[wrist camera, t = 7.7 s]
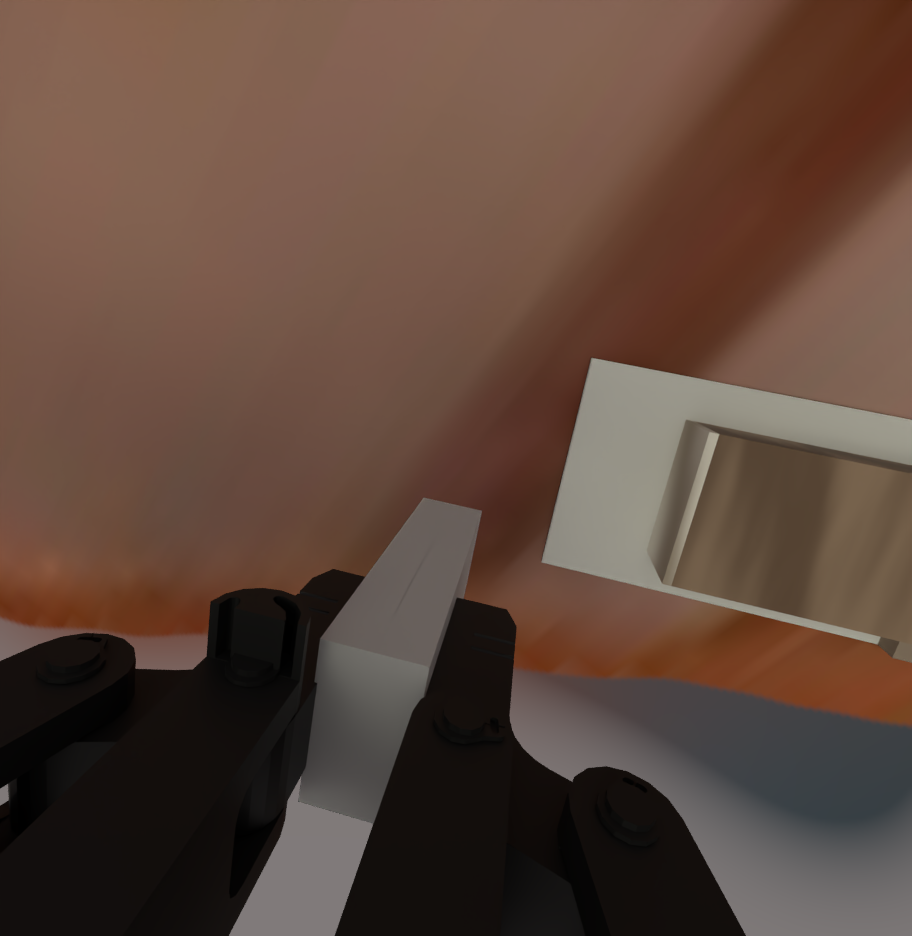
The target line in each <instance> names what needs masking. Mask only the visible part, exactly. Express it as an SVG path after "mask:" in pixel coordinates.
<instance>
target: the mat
mask: <svg viewBox="0 0 912 936" xmlns="http://www.w3.org/2000/svg"><path fill="white" fill-rule="evenodd" d="M686 420H691V421H696V422H701V423H706V424H711V425H716V426H721V427H726V428H731V429H735V430H740V431H745V432H750V433H755V434H760V435H765V436H770V437H775V438H780V439H785V440H789V441H794V442H799V443H804V444H809V445H814V446H819V447H824V448H829V449H834V450H839V451H844V452H848V453H853V454H858V455H863V456H868V457H873V458H878V459H883V460H888V461H893V462H898V463H903V464H907V465H912V420H910V419H905V418H900V417H895V416H889V415H884V414H879V413H874V412H869V411H864V410H858V409H853V408H848V407H843V406H838V405H833V404H827V403H822V402H817V401H812V400H807V399H802V398H796V397H791V396H786V395H781V394H776V393H771V392H765V391H760V390H755V389H750V388H745V387H740V386H734V385H729V384H724V383H719V382H714V381H709V380H703V379H698V378H693V377H688V376H683V375H678V374H673V373H667V372H662V371H657V370H652V369H647V368H642V367H636V366H631V365H626V364H621V363H616V362H611V361H605V360H600V359H595V358H591V361H590V365H589V369H588V373H587V377H586V381H585V385H584V389H583V393H582V398H581V402H580V406H579V410H578V414H577V418H576V422H575V426H574V430H573V434H572V438H571V442H570V446H569V450H568V454H567V458H566V463H565V467H564V471H563V475H562V479H561V483H560V487H559V491H558V495H557V499H556V503H555V507H554V511H553V515H552V519H551V523H550V528H549V532H548V536H547V540H546V544H545V548H544V552H543V556H542V563H546V564H550V565H555V566H559V567H563V568H567V569H571V570H575V571H579V572H583V573H587V574H591V575H596V576H600V577H604V578H608V579H612V580H616V581H620V582H624V583H628V584H632V585H637V586H641V587H645V588H649V589H653V590H657V591H661V592H665V593H669V594H673V595H677V596H682V597H686V598H690V599H694V600H698V601H702V602H706V603H710V604H714V605H718V606H723V607H727V608H731V609H735V610H739V611H743V612H747V613H751V614H755V615H759V616H764V617H768V618H772V619H776V620H780V621H784V622H788V623H792V624H796V625H800V626H805V627H809V628H813V629H817V630H821V631H825V632H829V633H833V634H837V635H841V636H846V637H850V638H854V639H858V640H862V641H866V642H870V643H874V644H878V645H879V646H880V647H881V648H882V649H883V650H884V651H885V652H887V653H888V654H889V655H890V656H891V657H892V658H895V659H899V660H903V661H907V662H911V663H912V644H908V643H904V642H900V641H896V640H892V639H887V638H883V637H879V636H875V635H871V634H867V633H863V632H859V631H854V630H850V629H846V628H842V627H838V626H834V625H830V624H825V623H821V622H817V621H813V620H809V619H805V618H801V617H797V616H792V615H788V614H784V613H780V612H776V611H772V610H768V609H764V608H759V607H755V606H751V605H747V604H743V603H739V602H735V601H731V600H726V599H722V598H718V597H714V596H710V595H706V594H702V593H697V592H693V591H689V590H685V589H681V588H677V587H673V586H669V585H664V584H662V583H661V581H660V578H659V576H658V574H657V572H656V570H655V568H654V566H653V563H652V561H651V559H650V557H649V555H648V553H647V548H648V545H649V541H650V538H651V535H652V531H653V528H654V525H655V521H656V518H657V515H658V511H659V508H660V505H661V501H662V498H663V495H664V491H665V488H666V485H667V481H668V478H669V475H670V471H671V468H672V464H673V461H674V458H675V454H676V451H677V448H678V444H679V441H680V438H681V434H682V431H683V428H684V424H685V421H686Z"/></svg>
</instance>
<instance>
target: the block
mask: <svg viewBox="0 0 912 936" xmlns="http://www.w3.org/2000/svg"><path fill="white" fill-rule="evenodd" d="M647 553H648V555H649V557H650V559H651V561H652V563H653V566H654V568H655V570H656V572H657V574H658V576H659V578H660V581H661V583H662V584H664V585H669V586H673V587H677V588H681V589H685V590H689V591H693V592H697V593H702V594H706V595H710V596H714V597H718V598H722V599H726V600H731V601H735V602H739V603H743V604H747V605H751V606H755V607H759V608H764V609H768V610H772V611H776V612H780V613H784V614H788V615H792V616H797V617H801V618H805V619H809V620H813V621H817V622H821V623H825V624H830V625H834V626H838V627H842V628H846V629H850V630H854V631H859V632H863V633H867V634H871V635H875V636H879V637H883V638H887V639H892V640H896V641H900V642H904V643H908V644H912V465H907V464H903V463H898V462H893V461H888V460H883V459H878V458H873V457H868V456H863V455H858V454H853V453H848V452H844V451H839V450H834V449H829V448H824V447H819V446H814V445H809V444H804V443H799V442H794V441H789V440H785V439H780V438H775V437H770V436H765V435H760V434H755V433H750V432H745V431H740V430H735V429H731V428H726V427H721V426H716V425H711V424H706V423H701V422H696V421H691V420H686V421H685V424H684V428H683V431H682V434H681V438H680V441H679V444H678V448H677V451H676V454H675V458H674V461H673V464H672V468H671V471H670V475H669V478H668V481H667V485H666V488H665V491H664V495H663V498H662V501H661V505H660V508H659V511H658V515H657V518H656V521H655V525H654V528H653V531H652V535H651V538H650V541H649V545H648V548H647Z"/></svg>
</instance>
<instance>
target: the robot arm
mask: <svg viewBox="0 0 912 936" xmlns="http://www.w3.org/2000/svg"><path fill="white" fill-rule="evenodd" d="M481 513H482V511H480V510H476V509H472V508H467V507H463V506H458V505H454V504H450V503H445V502H441V501H436V500H432V499H428V498H423V499H422V501H421V502H420V503H419V505H418V506H417V507H416V509H415V510H414V512H413V513H412V514H411V516H410V517H409V518H408V520H407V521H406V522H405V524H404V525H403V527H402V528H401V529H400V531H399V532H398V533H397V535H396V536H395V537H394V539H393V540H392V541H391V543H390V544H389V546H388V547H387V548H386V550H385V551H384V552H383V554H382V555H381V556H380V558H379V559H378V561H377V562H376V563H375V565H374V566H373V567H372V569H371V570H370V571H369V573H368V574H367V576H366V577H363V576H359V575H355V574H351V573H347V572H343V571H339V570H335V569H332V570H330V571H328V572H325V573H323V574H321V575H318V576H316V577H314V578H312V579H311V580H310V581H309V582H308V583H307V584H306V586H305V587H304V588H303V589H302V590H301V591H300V594H297V595H296V596H294V595H292V594H289V593H287V592H284V591H281V590H273V589H266V588H255V589H242V590H238V591H234V592H230V593H226V594H224V595H222V596H220V597H218V598H217V599H215V600H213V601H211V604H210V618H209V631H208V646H207V657H206V658H205V659H203V660H202V661H201V662H200V663H199V664H198V665H197V666H196V667H195V668H194V669H193V670H151V669H135V664H136V658H135V652H134V648H133V647H132V646H131V645H130V644H129V643H128V642H127V641H126V640H125V639H122V638H119V637H115V636H112V635H109V634H94V633H83V634H77V635H70V636H63V637H60V638H57V639H53V640H51V641H48V642H44V643H42V644H38V645H36V646H34V647H32V648H29V649H27V650H25V651H22V652H20V653H18V654H16V655H13V656H11V657H9V658H6V659H4V660H2V661H0V788H2V787H3V786H5V785H7V784H8V792H9V801H7V802H6V803H4V804H2V805H1V806H0V936H229V934H230V932H231V930H232V928H233V926H234V924H235V922H236V921H237V919H238V917H239V915H240V913H241V911H242V909H243V907H244V905H245V903H246V901H247V899H248V897H249V896H250V893H251V892H252V890H253V888H254V886H255V884H256V882H257V880H258V878H259V876H260V874H261V872H262V870H263V868H264V866H265V865H266V863H267V861H268V859H269V857H270V855H271V853H272V851H273V849H274V847H275V845H276V843H277V841H278V840H279V838H280V835H281V832H282V828H283V825H284V821H285V816H286V808H287V801H288V799H289V797H290V795H291V793H292V791H293V789H294V788H295V786H296V784H297V782H298V780H299V779H300V777H301V775H302V777H301V785H300V792H299V800H298V802H302V803H305V804H309V805H312V806H316V807H319V808H322V809H326V810H329V811H333V812H336V813H339V814H343V815H346V816H350V817H353V818H357V819H360V820H363V821H367V822H370V823H373V827H372V830H371V833H370V835H369V839H368V841H367V844H366V847H365V850H364V853H363V856H362V859H361V862H360V864H359V867H358V870H357V873H356V876H355V879H354V882H353V884H352V887H351V890H350V893H349V896H348V899H347V902H346V905H345V908H344V910H343V913H342V916H341V919H340V922H339V925H338V928H337V931H336V934H335V936H746V935H745V933H744V931H743V929H742V928H741V926H740V924H739V922H738V920H737V918H736V916H735V915H734V913H733V911H732V909H731V907H730V905H729V904H728V902H727V900H726V898H725V896H724V894H723V893H722V891H721V889H720V887H719V885H718V883H717V882H716V880H715V878H714V876H713V874H712V872H711V870H710V868H709V867H708V865H707V863H706V861H705V859H704V857H703V856H702V854H701V852H700V850H699V848H698V846H697V844H696V843H695V841H694V839H693V837H692V835H691V833H690V832H689V830H688V828H687V826H686V824H685V822H684V820H683V819H682V817H681V816H680V815H679V813H678V812H677V811H676V809H675V808H674V806H672V804H671V803H670V801H669V800H668V799H667V798H666V797H665V796H664V795H663V794H662V793H660V792H659V791H658V790H657V789H656V788H654V787H653V786H652V785H651V784H650V783H648V782H646V781H644V780H643V779H641V778H639V777H637V776H635V775H633V774H631V773H629V772H627V771H623V770H619V769H615V768H611V767H607V766H606V767H595V768H587V769H586V770H584V771H583V772H581V773H580V774H578V775H577V776H575V777H574V779H573V782H571V781H569V780H568V779H566V778H564V777H562V776H560V775H559V774H557V773H555V772H553V771H551V770H549V769H548V768H546V767H545V766H544V765H542V764H540V763H539V762H538V761H536V760H535V759H534V758H533V757H531V756H530V755H529V754H528V753H527V752H526V751H525V750H524V749H523V748H522V747H521V745H520V744H519V742H518V741H517V739H516V738H515V736H514V733H513V731H512V728H511V723H510V717H509V713H510V701H511V689H512V676H513V663H514V660H513V659H514V651H515V638H516V625H515V623H514V621H513V619H512V618H511V616H510V614H509V612H508V611H507V610H506V609H502V608H498V607H494V606H490V605H486V604H482V603H478V602H473V601H469V600H465V599H464V594H465V590H466V585H467V580H468V575H469V571H470V566H471V561H472V556H473V551H474V547H475V542H476V537H477V532H478V528H479V523H480V518H481Z"/></svg>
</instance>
